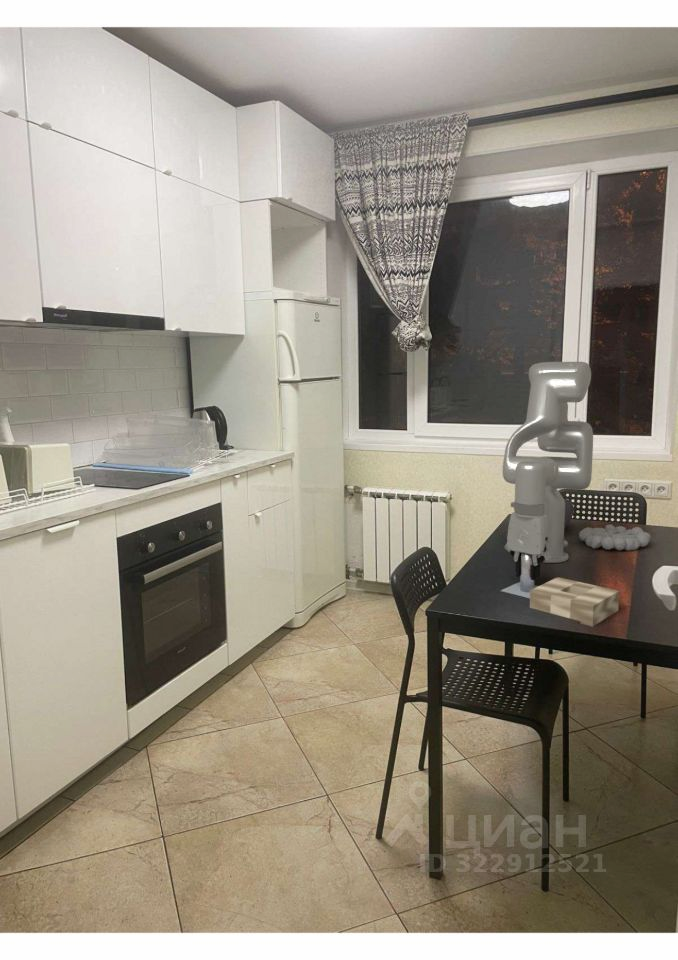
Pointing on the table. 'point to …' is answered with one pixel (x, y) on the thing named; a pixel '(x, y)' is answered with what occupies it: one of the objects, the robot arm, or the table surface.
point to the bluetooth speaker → (568, 511)
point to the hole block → (575, 600)
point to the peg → (526, 573)
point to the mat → (517, 590)
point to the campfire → (615, 537)
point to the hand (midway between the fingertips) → (527, 576)
